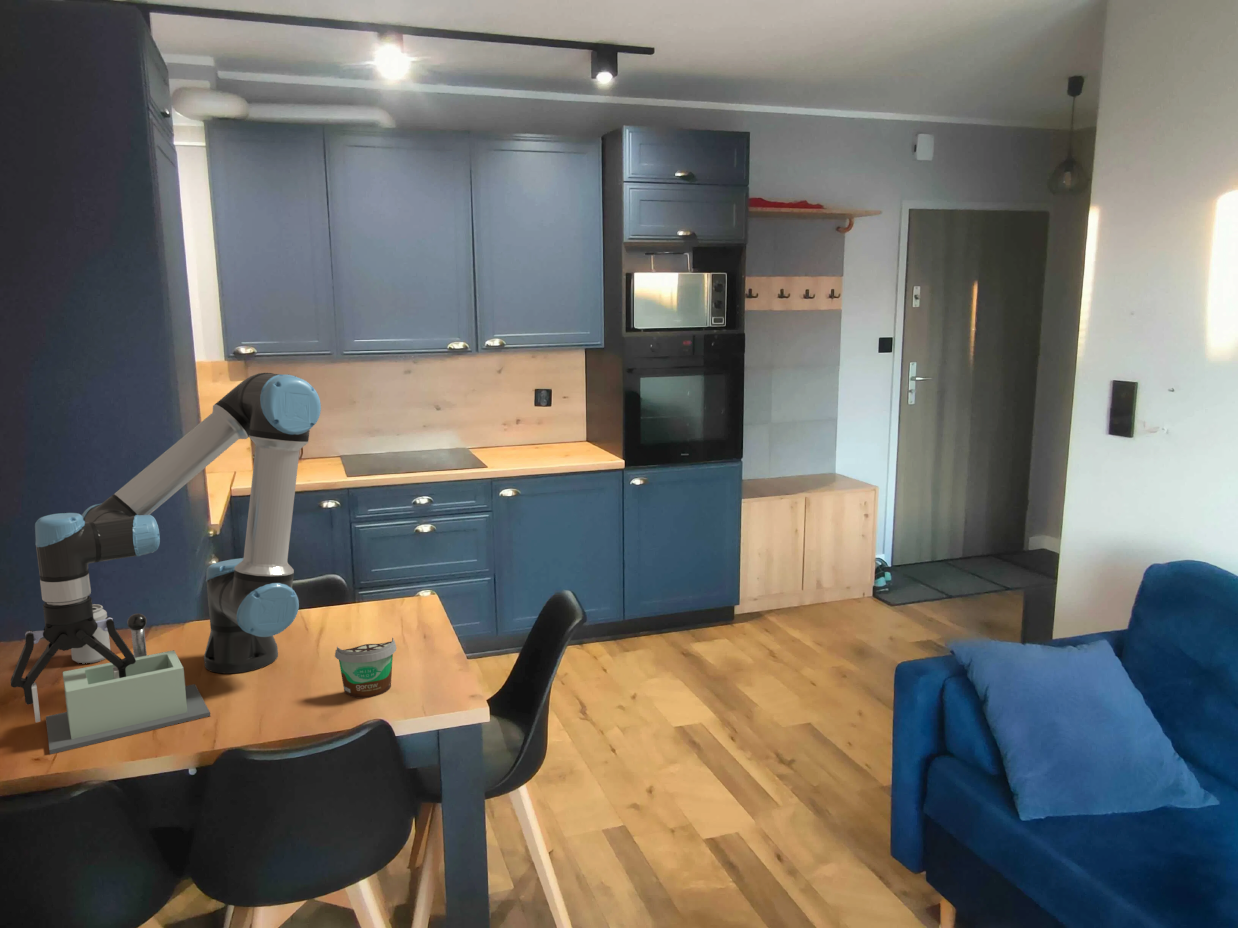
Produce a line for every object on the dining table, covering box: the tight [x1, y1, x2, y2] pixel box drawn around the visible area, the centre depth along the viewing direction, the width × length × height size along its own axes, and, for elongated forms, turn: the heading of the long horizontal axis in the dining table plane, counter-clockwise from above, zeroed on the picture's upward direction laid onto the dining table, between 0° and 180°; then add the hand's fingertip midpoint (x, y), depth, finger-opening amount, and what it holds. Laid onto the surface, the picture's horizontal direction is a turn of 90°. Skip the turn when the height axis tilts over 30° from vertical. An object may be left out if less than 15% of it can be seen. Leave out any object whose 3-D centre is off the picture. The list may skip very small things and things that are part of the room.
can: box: [70, 603, 111, 665], centre depth 195 cm, size 8×8×12 cm
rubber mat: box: [45, 683, 211, 755], centre depth 167 cm, size 26×16×1 cm, turn 125°
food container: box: [334, 636, 397, 699], centre depth 178 cm, size 12×6×10 cm, turn 118°
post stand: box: [126, 613, 148, 658], centre depth 183 cm, size 5×5×15 cm
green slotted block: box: [62, 650, 187, 739], centre depth 166 cm, size 19×11×9 cm, turn 125°
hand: (79, 710), depth 162 cm, fingers open, 12 cm apart
